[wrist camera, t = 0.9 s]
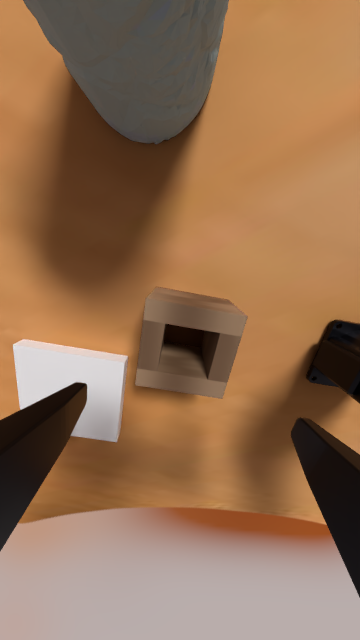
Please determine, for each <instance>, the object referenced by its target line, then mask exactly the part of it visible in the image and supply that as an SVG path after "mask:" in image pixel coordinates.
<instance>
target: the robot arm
mask: <svg viewBox="0 0 360 640" xmlns="http://www.w3.org/2000/svg"><path fill="white" fill-rule="evenodd" d="M337 325H338V326H337ZM336 326H337V327H336ZM313 376H314V377H313ZM312 377H313V378H312ZM306 378H307V379H308V380H309V381H310V382H312V383H317V384H323V385H329V386H335V387H340V388H341V389H342V390H343V391H345V392H346V393H347V394H349V395H350V396H351V397H352V398H353V399H355V400H356V401H357V402H358V403H360V324H359V323H354V322H348V321H343V320H334V321H332V322H331V324H330V326H329V328H328V330H327V332H326V334H325V337H324V339H323V341H322V343H321V345H320V347H319V350H318V352H317V354H316V356H315V358H314V360H313V363H312V365H311V367H310V369H309V371H308V373H307V376H306ZM86 402H87V384H86V383H81V382H75V383H73V384H71V385H69V386H67V387H65V388H63V389H61V390H59V391H57V392H55V393H53V394H51V395H49V396H47V397H45V398H43V399H41V400H39V401H37V402H35V403H33V404H31V405H29V406H27V407H26V408H24V409H22V410H20V411H18V412H16V413H14V414H12V415H10V416H8V417H6V418H4V419H2V420H0V551H1V549H2V548H3V546H4V545H5V543H6V541H7V539H8V538H9V536H10V535H11V533H12V531H13V530H14V528H15V527H16V525H17V523H18V522H19V520H20V519H21V517H22V515H23V514H24V512H25V511H26V509H27V507H28V506H29V504H30V502H31V501H32V499H33V498H34V496H35V494H36V493H37V491H38V489H39V488H40V486H41V485H42V483H43V481H44V480H45V478H46V476H47V475H48V473H49V472H50V470H51V468H52V467H53V465H54V463H55V462H56V460H57V459H58V457H59V455H60V454H61V452H62V450H63V449H64V447H65V445H66V443H67V442H68V440H69V438H70V436H71V434H72V432H73V430H74V428H75V426H76V424H77V421H78V419H79V417H80V415H81V413H82V411H83V409H84V407H85V405H86ZM291 438H292V441H293V443H294V446H295V449H296V452H297V454H298V457H299V460H300V463H301V465H302V468H303V471H304V474H305V476H306V479H307V481H308V484H309V486H310V488H311V490H312V493H313V495H314V497H315V499H316V501H317V504H318V506H319V508H320V510H321V513H322V515H323V517H324V519H325V521H326V524H327V526H328V528H329V530H330V533H331V534H332V537H333V539H334V541H335V544H336V546H337V548H338V550H339V553H340V555H341V557H342V559H343V561H344V564H345V566H346V568H347V570H348V572H349V575H350V577H351V579H352V581H353V584H354V586H355V588H356V590H357V592H358V594H359V597H360V455H359V454H358V453H356V452H355V451H354V450H352V449H351V448H349V447H348V446H347V445H345V444H344V443H342V442H341V441H340V440H338V439H337V438H335V437H334V436H333V435H331V434H330V433H328V432H327V431H326V430H324V429H323V428H321V427H320V426H319V425H317V424H316V423H314V422H313V421H312V420H310V419H307V418H301V417H300V418H298V419H297V420H296V422H295V424H294V426H293V429H292V431H291Z"/></svg>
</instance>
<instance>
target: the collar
mask: <svg viewBox="0 0 360 640" xmlns="http://www.w3.org/2000/svg"><path fill="white" fill-rule="evenodd" d="M247 317H248V316H247V315H246V314H244V313H243V312H242V311H241V310H240V309H239V308H237V307H236V306H235V305H234V304H233V303H232V302H230V301H229V300H227V299H221V298H216V297H210V296H205V295H199V294H194V293H188V292H183V291H177V290H172V289H166V288H161V287H156V288H155V289H154V290H153V291H152V292H151V293H150V294H149V295H148V296H147V298H146V302H145V310H144V318H143V326H142V334H141V342H140V350H139V358H138V366H137V374H136V382H135V385H137V386H144V387H150V388H156V389H163V390H169V391H176V392H182V393H188V394H195V395H201V396H208V397H214V398H220V399H222V398H223V395H224V391H225V388H226V385H227V382H228V379H229V375H230V372H231V369H232V366H233V362H234V359H235V356H236V353H237V349H238V346H239V343H240V340H241V337H242V333H243V330H244V327H245V324H246V320H247ZM167 324H171V325H177V326H182V327H188V328H194V329H200V330H205V332H204V336H203V341H202V345H201V348H200V347H194V346H188V345H182V344H177V343H171V342H165V341H164V337H165V331H166V326H167Z"/></svg>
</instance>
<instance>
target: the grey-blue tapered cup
mask: <svg viewBox="0 0 360 640" xmlns="http://www.w3.org/2000/svg"><path fill="white" fill-rule="evenodd" d="M23 1H24V3H25V4H26V6H27V8H28V9H29V10H30V12H31V13H32V14H33V15H34V17H35V18H36V19H37V21H38V23H39V25H40V27H41V29H42V31H43V33H44V35H45V36H46V38H47V40H48V41H49V43H50V44H51V45H52V46H53V47H54V48H55V49H56V50H57V51H58V52H59V53H60V54H61V55H62V56H63V60H64V63H65V65H66V67H67V69H68V71H69V72H70V74H71V75H72V77H73V78H74V79H75V81H76V82H77V84H78V85H79V87H80V88H81V89H82V91H83V92H84V94H85V95H86V96H87V98H88V99H89V100H90V102H91V103H92V105H93V106H94V107H95V109H96V110H97V112H98V113H99V114H100V116H101V117H102V118H103V119H104V120H105V121H106V122H107V123H108V124H109V125H110V126H111V127H112V128H113V129H115V130H116V131H117V132H119V133H120V134H121V135H123V136H125V137H126V138H128V139H130V140H132V141H136V142H142V143H148V144H149V143H155V144H158V143H161V142H162V141H163V140H169V139H170V138H171V137H175V136H176V135H177V134H178V133H180V132H181V131H182V130H183V129H184V128H186V127H187V126H188V125H189V124H190V123H191V121H192V120H193V119H194V118H195V116H197V114H198V112H199V110H200V109H201V107H202V106H203V104H204V102H205V99H206V97H207V95H208V92H209V89H210V87H211V83H212V79H213V75H214V70H215V66H216V61H217V57H218V52H219V46H220V41H221V38H222V33H223V24H224V19H225V15H226V12H227V9H228V1H229V0H23Z"/></svg>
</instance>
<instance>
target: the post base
mask: <svg viewBox="0 0 360 640" xmlns="http://www.w3.org/2000/svg"><path fill="white" fill-rule="evenodd" d="M13 350H14V359H15V368H16V377H17V386H18V395H19V403H20V410H22V409H24V408H26V407H27V406H29V405H31V404H33V403H35V402H37V401H39V400H41V399H43V398H45V397H47V396H49V395H51V394H53V393H55V392H57V391H59V390H61V389H63V388H65V387H67V386H69V385H71V384H73V383H75V382H81V383H86V384H87V402H86V405H85V407H84V409H83V411H82V413H81V415H80V417H79V419H78V421H77V424H76V426H75V428H74V430H73V432H72V434H71V436H77V437H84V438H91V439H98V440H105V441H112V442H117V440H118V437H119V434H120V429H121V420H122V410H123V401H124V391H125V382H126V372H127V363H128V356H124V355H118V354H112V353H106V352H100V351H94V350H88V349H82V348H76V347H69V346H63V345H57V344H51V343H45V342H39V341H33V340H27V339H23V340H21V341H19V342H17V343H15V344H13Z"/></svg>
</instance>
